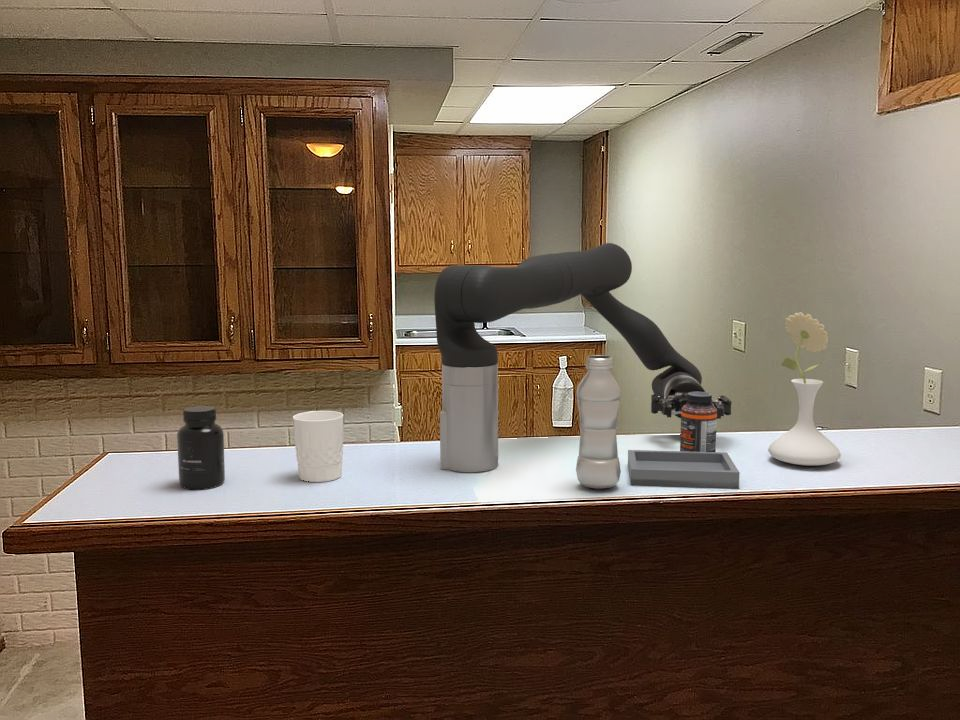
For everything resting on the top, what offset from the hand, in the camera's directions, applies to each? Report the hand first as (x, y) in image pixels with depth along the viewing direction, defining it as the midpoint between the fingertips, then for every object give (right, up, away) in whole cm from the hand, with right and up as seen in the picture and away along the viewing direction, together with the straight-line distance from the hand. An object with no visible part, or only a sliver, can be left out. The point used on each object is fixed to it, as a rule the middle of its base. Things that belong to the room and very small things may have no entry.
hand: (694, 412), depth 147 cm
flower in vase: (+16, -8, -7) cm, 19 cm away
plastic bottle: (-20, -10, -21) cm, 30 cm away
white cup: (-63, -10, -14) cm, 66 cm away
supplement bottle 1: (-81, -10, -17) cm, 84 cm away
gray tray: (-6, -9, -15) cm, 19 cm away
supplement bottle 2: (-1, -8, -4) cm, 9 cm away
